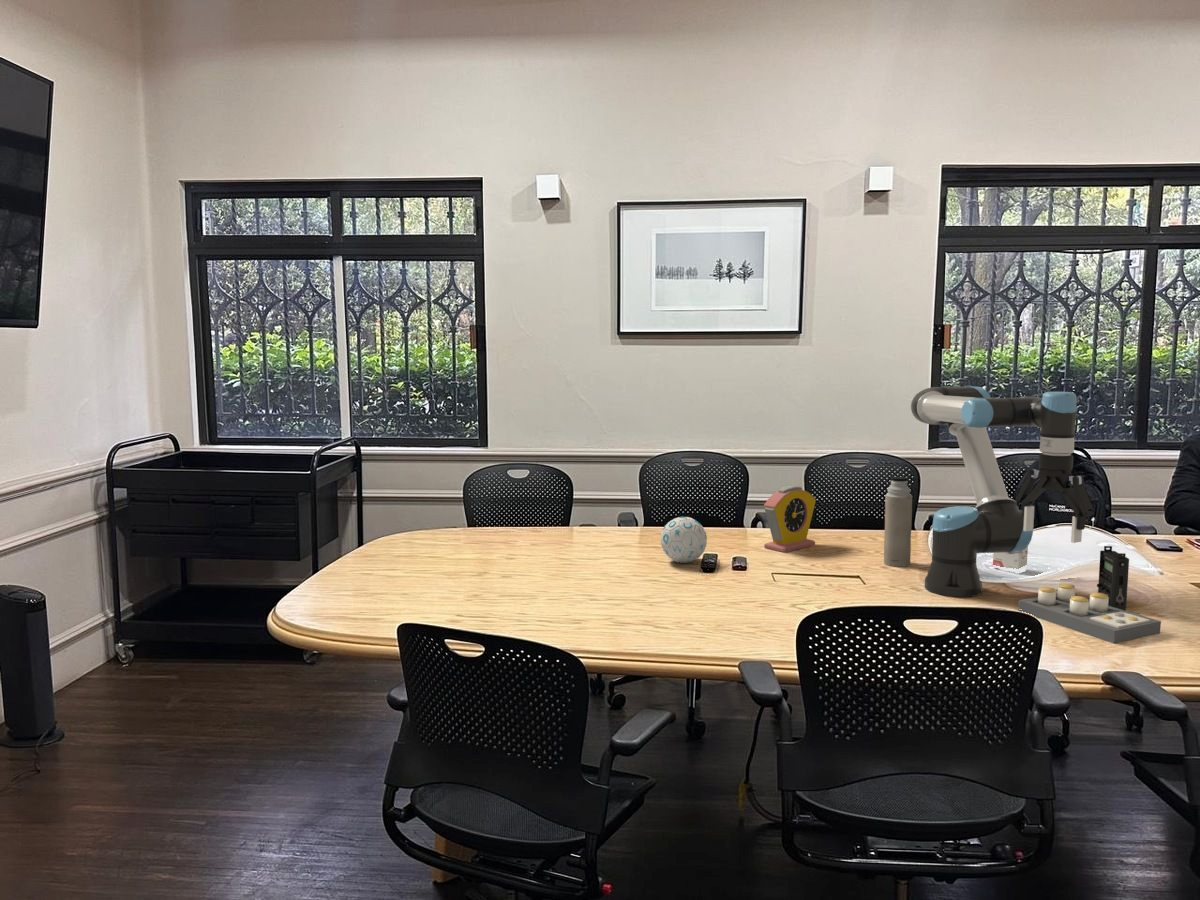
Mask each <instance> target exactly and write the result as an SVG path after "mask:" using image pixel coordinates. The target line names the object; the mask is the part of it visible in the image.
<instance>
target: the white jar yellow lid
mask: <svg viewBox="0 0 1200 900" xmlns="http://www.w3.org/2000/svg"><path fill="white" fill-rule="evenodd" d="M1088 600H1089V599H1088V598H1087V597H1086V596H1081V595H1075V596H1072V597H1071V599H1070V610H1069V613H1070V614H1073V615H1076V616H1079V617H1084V616H1088V608H1089V601H1088Z"/></svg>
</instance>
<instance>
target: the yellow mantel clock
mask: <svg viewBox="0 0 1200 900" xmlns="http://www.w3.org/2000/svg"><path fill="white" fill-rule="evenodd" d="M816 501H817V499H816V497H815V496H813V494H811V493H810V492H808V491H807V490H803V487H801V486H795V485H786V486H783V487H780V489H778V490H777V491H775V492H774V493H772V494H771V495H770V497H768V498H767V500H766V502H765V503H764V504H763V508H764V512H765V516H766V519H767V522H768V523H767V524H768V526H769V530H770V534H771V537H772V541H769V542H766V543H764V544H763V545H764V548H765V549H766V548H767V550H772V551H776V552H778V553H789V552H792V551H797V550H802V549H805V548H809V547H813V546H815V545H816V541H815V540H813V539H808V538H807V537H808V534H809V533H808V532H809V531H810V526H811V521H812V517H813V513H814V509H815V505H816Z"/></svg>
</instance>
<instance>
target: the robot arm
mask: <svg viewBox="0 0 1200 900" xmlns="http://www.w3.org/2000/svg"><path fill="white" fill-rule="evenodd" d="M910 410H911V414H912V416H913V417H914V418H915V419H916V420H917V421H919V422H920V423H923V424H926V425H936V426H937V425H945V426H947V428H948V432H949V433H950V434H951V435H952V436H954V437H956V440H957V444H958V447H959V450H960V455H961V456H962V460H963V463H964V467H965V470H966V472H967V476H968V480H969V483H970V486H971V489H972V492H973V496H974V499H975V504H976V505H975V507H973V506H967V505H964V506H963V505H962V506H960V505H959V506H958V505H957V506H956V505H955V506H949V507H948V506H947V507H944V508H941V509H939V510H937V511H936V512H935V513H934V515H933V518H932V519H933V520H932V525H931V529H932V537H931V538H932V541H931V542H932V543H931V546H932V548H931V563H930V565H929V568H928V571H927V575H926V576H925V578H924V588H925V589H926V590H927V591H929V592H931V593H934V594H937V595H941V596H948V597H957V598H958V597H960V598H961V597H962V598H963V597H967V598H968V597H975V596H979V595H981V594H982V593H983V582H982V581H981V579H980V573H979V569H978V566H977V557H978V556H977V554H986V553H987V554H989V553H990V554H993V553H1000V552H1007V553H1011V552H1017V551H1022V550H1024V549H1026V548H1027V547H1028V548H1029V545H1030V544H1031V542H1032V539H1033V534H1034V519H1035V505H1034V504H1033V503H1035V501H1036V500H1038V498H1039V497H1040V496H1041V495H1042V494H1043V493H1044V492H1045V491H1046V490H1050V491H1055V492H1059V493H1060V494H1061V495H1062V496H1063V497H1064V498H1065V500H1066V502H1067V504H1068V505H1069V507H1070V508H1071V510H1072V511H1073V513H1074V515H1073V516H1071V517H1072V519H1071V534H1070V535H1071V536H1070V543H1072V544H1074V543H1080V542H1082V539H1083V537H1082V535H1083V530H1085V529H1086V518H1087V517H1088V516H1093V515H1095V511H1094V507H1093V506H1092V502H1091V500H1090V497H1089V495H1088V492H1087V489H1086V487H1085V479H1084V476H1083V475H1076V476H1074V475H1072V470H1073V468H1074V456H1073V455H1072V454H1073V453H1074V452H1075V451H1074V450H1075V435H1076V434H1075V432H1076V422H1077V421H1076V420H1077V410H1078V407H1077V395H1076V393H1074V392H1070V391H1046V392H1044V393H1043V394H1042V397H1038V396H1035V395H1034V396H1031V395H1029V396H1028V395H1025V396H1020V397H1003V398H1002V397H1000V398H999V397H995V398H994V397H993V398H992V397H991V395H990V394H989V392H988V391H987V390H986V389H984V388H983V387H980V386H973V385H965V386H932V387H928V388H924V389H922V390H921V391H919V392H918V393H916V394H915V395H914V397H913V398H912V400H911V404H910ZM999 427H1006V428H1007V427H1009V428H1010V427H1011V428H1012V427H1037V428H1040V437H1039V438H1040V439H1039V440H1040V441H1039V451H1040V454H1039V456H1038V468H1039V469H1038V468H1029V469H1028V470H1027V474H1026V475H1027V476H1026V479H1025V480H1024V483H1023V484H1022V487H1021V488H1020V489H1019V491H1018V494H1017V495H1016V498H1015V500H1014V499H1012V498H1011V497H1009V494H1008V492H1007V489H1006V485H1005V483H1004V480H1003V476H1002V473H1001V470H1000V468H999V467H1000V466H999V464H998V461H997V458H996V455H995V452H994V449H993V446H992V443H991V439H990V436H989V433H988V430H987V428H999ZM1038 478H1039V480H1040V481H1039V482H1038V483H1037V484H1036V482H1037V480H1038ZM1035 484H1036V485H1035ZM1034 486H1035V487H1034ZM1018 503H1019V504H1020V505H1021V506H1022V508H1021V509H1019V506H1018Z"/></svg>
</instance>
